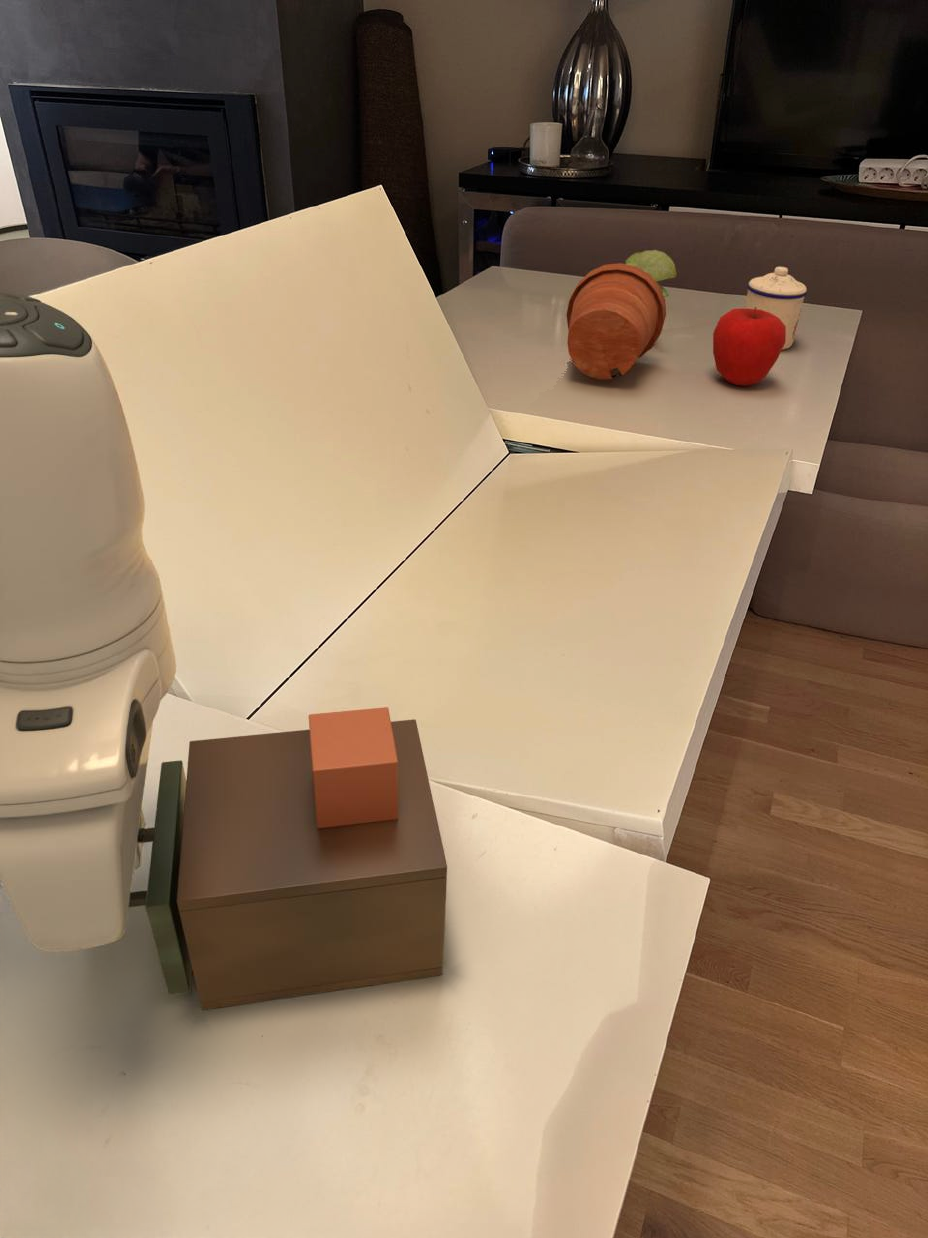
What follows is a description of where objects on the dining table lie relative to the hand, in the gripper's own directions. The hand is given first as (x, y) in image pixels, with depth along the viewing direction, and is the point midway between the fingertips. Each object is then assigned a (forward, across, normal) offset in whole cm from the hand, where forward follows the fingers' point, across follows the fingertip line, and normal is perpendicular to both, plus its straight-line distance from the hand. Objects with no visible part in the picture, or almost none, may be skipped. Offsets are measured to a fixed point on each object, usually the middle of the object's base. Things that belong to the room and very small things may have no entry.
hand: (127, 850), depth 50 cm
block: (-2, 0, +13) cm, 13 cm away
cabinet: (+7, 0, +10) cm, 12 cm away
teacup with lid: (+8, -100, +88) cm, 133 cm away
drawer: (+6, 0, +6) cm, 8 cm away
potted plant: (+8, -97, +61) cm, 115 cm away
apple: (+8, -82, +76) cm, 112 cm away
